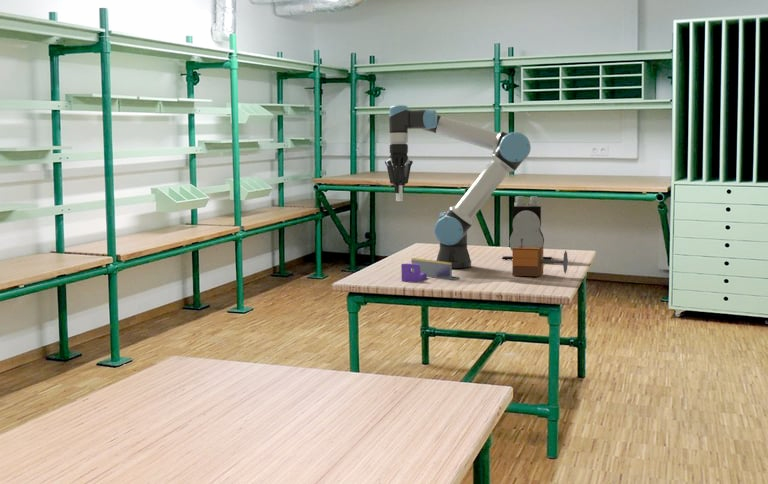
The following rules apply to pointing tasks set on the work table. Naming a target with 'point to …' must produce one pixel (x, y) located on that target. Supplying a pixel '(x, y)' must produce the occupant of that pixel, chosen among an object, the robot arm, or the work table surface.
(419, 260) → the wall
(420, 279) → the bracket
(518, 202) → the mechanical component
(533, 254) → the brown box with disc
